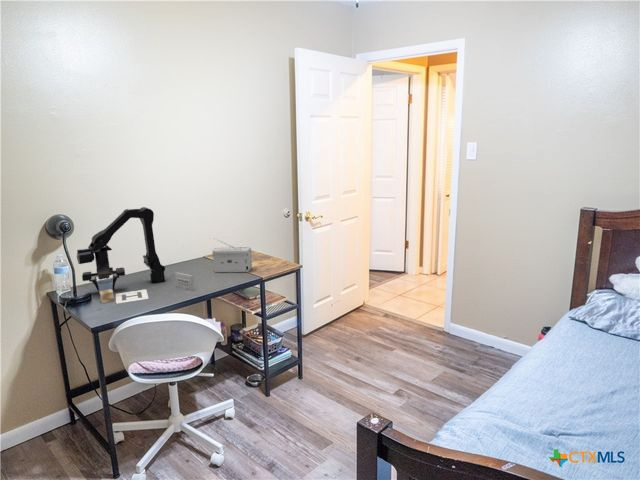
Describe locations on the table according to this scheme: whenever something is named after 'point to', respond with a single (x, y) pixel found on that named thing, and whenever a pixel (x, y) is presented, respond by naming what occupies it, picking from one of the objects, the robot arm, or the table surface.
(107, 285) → the slate-blue cube
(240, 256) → the stereo radio cassette player
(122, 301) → the letter plate
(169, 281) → the table surface
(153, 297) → the table surface
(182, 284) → the cassette
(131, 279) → the table surface
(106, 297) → the oak block
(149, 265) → the robot arm
